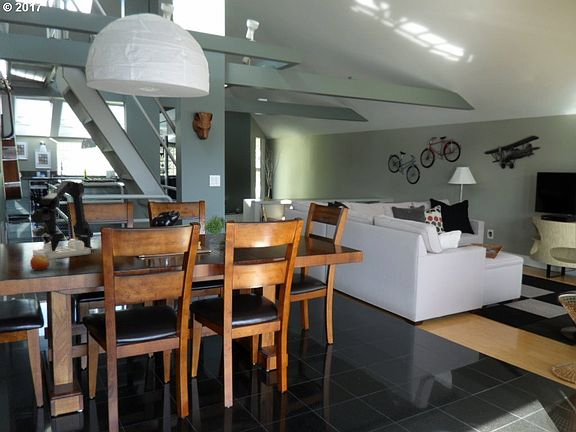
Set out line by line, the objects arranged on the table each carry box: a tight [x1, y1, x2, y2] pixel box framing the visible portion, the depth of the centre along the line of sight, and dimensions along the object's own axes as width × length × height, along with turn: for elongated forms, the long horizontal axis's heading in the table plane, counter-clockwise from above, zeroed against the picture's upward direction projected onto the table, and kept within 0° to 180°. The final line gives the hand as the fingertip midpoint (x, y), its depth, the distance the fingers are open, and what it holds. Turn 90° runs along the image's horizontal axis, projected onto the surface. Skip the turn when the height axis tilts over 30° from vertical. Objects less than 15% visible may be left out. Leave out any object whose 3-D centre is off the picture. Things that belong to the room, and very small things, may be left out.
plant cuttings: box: [202, 214, 226, 244], centre depth 300 cm, size 35×17×22 cm
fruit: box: [30, 255, 51, 272], centre depth 213 cm, size 8×8×8 cm
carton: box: [32, 238, 92, 260], centre depth 250 cm, size 24×16×8 cm
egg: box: [44, 242, 56, 253], centre depth 242 cm, size 5×5×7 cm
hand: (51, 250), depth 242 cm, fingers open, 5 cm apart
